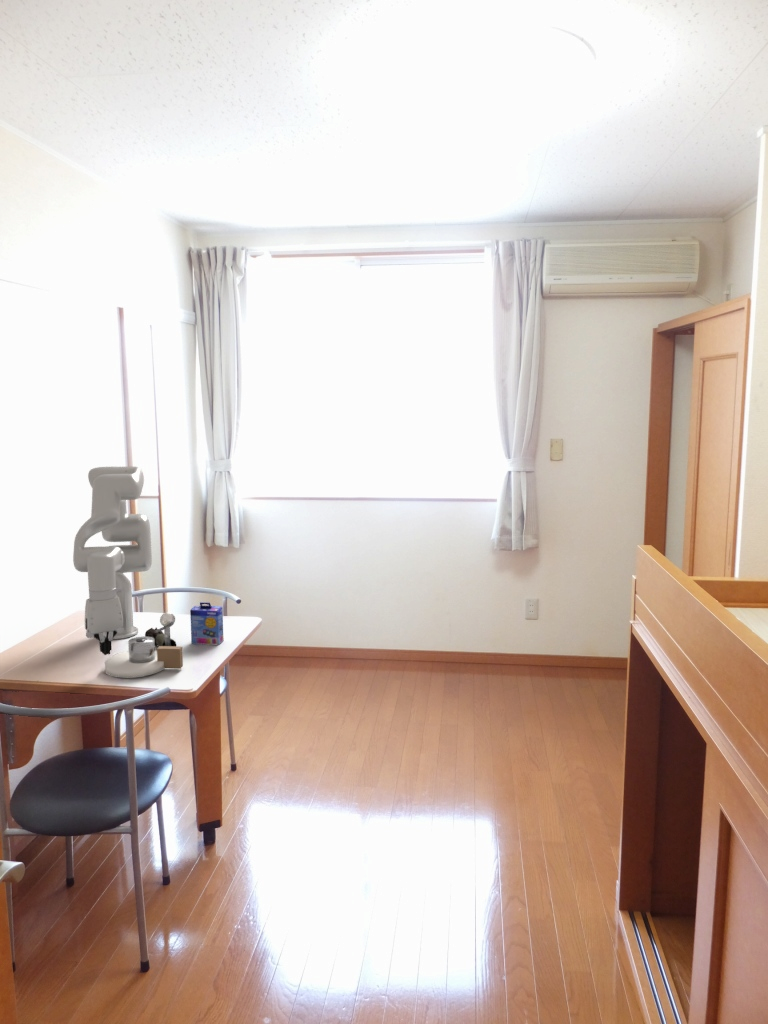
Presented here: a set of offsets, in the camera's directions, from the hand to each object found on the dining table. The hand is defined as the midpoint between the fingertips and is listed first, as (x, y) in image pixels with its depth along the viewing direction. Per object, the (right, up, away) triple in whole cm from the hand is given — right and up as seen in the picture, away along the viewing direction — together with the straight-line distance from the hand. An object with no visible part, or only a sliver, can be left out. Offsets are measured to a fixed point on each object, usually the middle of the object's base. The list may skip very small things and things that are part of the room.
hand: (105, 653), depth 221 cm
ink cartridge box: (+23, -3, +31) cm, 39 cm away
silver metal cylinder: (+9, -3, +6) cm, 11 cm away
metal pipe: (+8, -3, +27) cm, 29 cm away
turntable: (+10, -5, +5) cm, 12 cm away
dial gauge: (+12, -4, +18) cm, 22 cm away
